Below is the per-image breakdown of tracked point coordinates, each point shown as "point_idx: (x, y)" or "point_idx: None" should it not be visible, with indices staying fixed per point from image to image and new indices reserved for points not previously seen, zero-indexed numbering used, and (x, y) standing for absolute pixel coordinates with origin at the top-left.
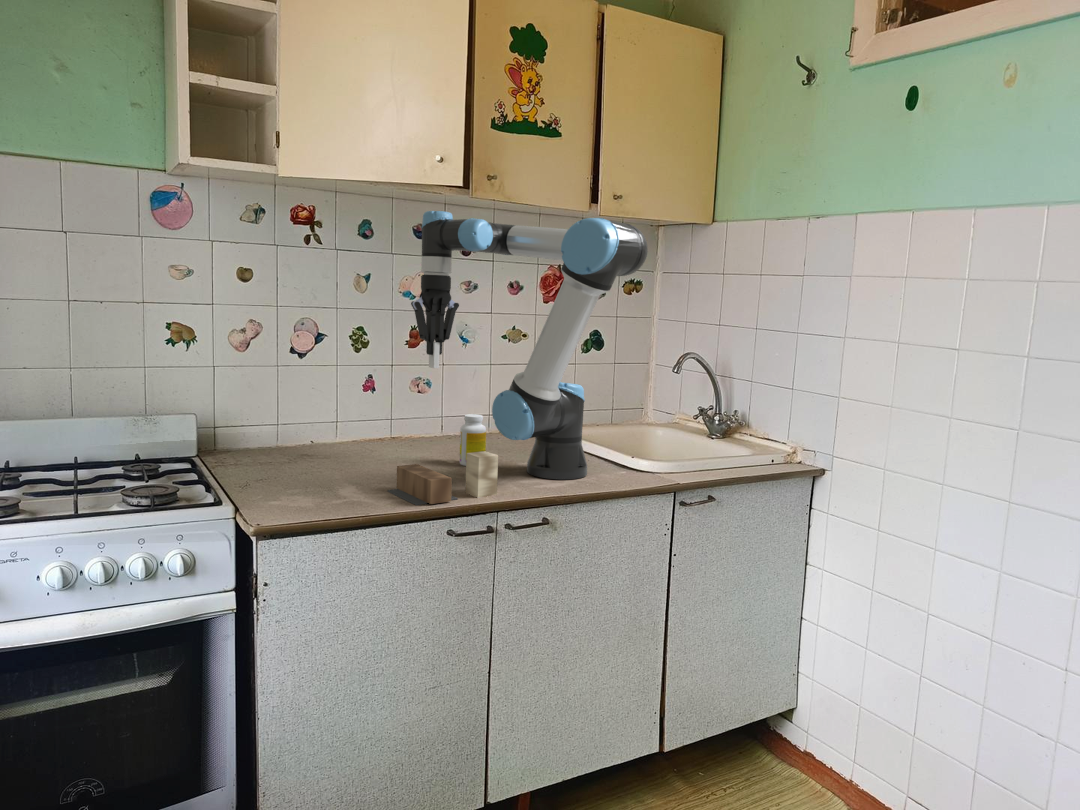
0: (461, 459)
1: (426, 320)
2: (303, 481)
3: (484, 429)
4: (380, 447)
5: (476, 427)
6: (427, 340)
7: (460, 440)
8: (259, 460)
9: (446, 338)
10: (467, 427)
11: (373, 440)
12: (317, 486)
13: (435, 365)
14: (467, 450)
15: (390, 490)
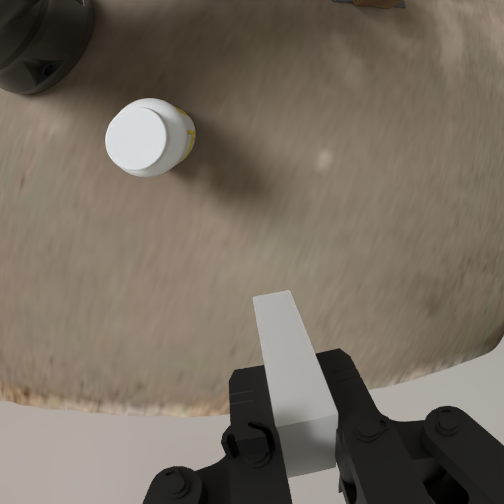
0: (194, 130)
1: None
2: (489, 129)
3: (122, 109)
4: None
5: (147, 103)
6: (408, 421)
7: (189, 140)
8: (488, 284)
9: (188, 475)
10: (172, 115)
11: None
12: (481, 91)
13: (282, 299)
14: (183, 112)
15: (401, 2)
